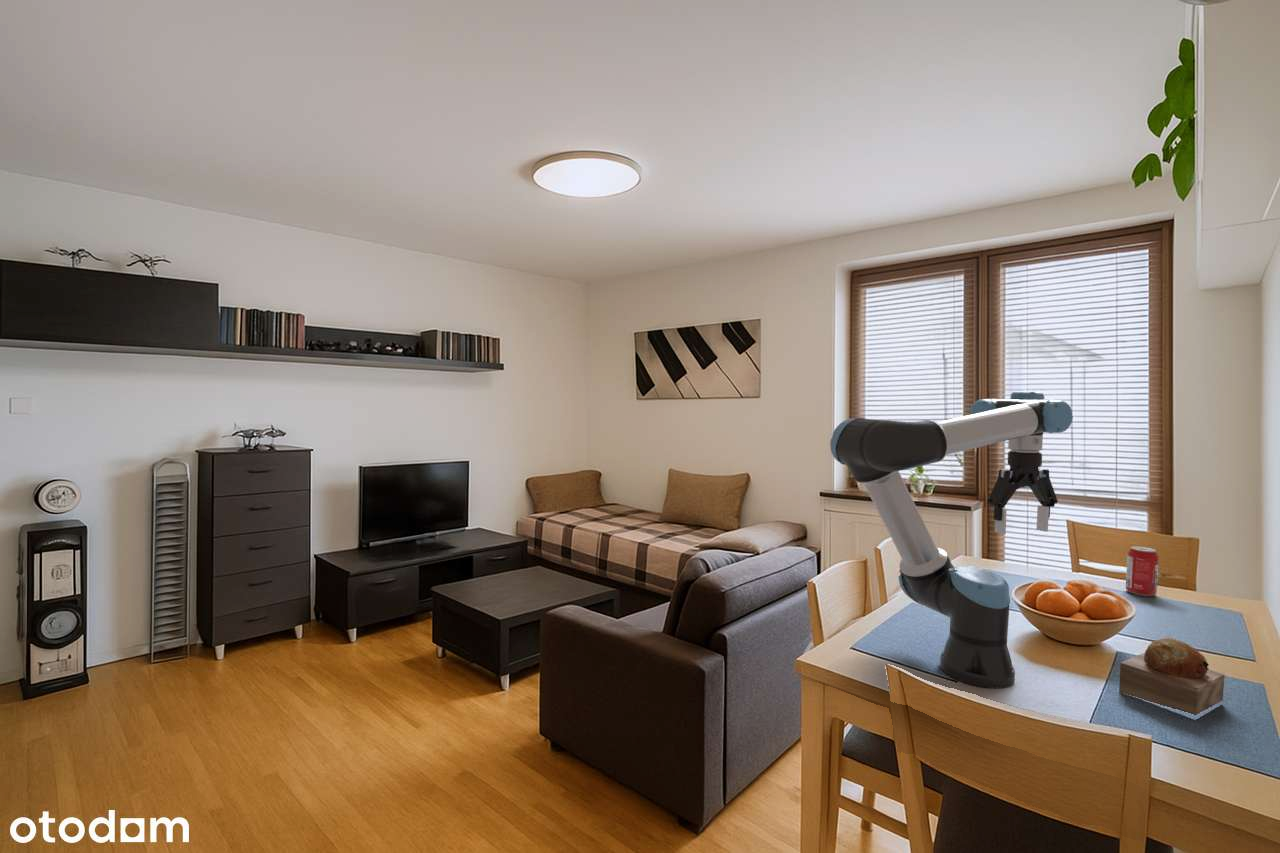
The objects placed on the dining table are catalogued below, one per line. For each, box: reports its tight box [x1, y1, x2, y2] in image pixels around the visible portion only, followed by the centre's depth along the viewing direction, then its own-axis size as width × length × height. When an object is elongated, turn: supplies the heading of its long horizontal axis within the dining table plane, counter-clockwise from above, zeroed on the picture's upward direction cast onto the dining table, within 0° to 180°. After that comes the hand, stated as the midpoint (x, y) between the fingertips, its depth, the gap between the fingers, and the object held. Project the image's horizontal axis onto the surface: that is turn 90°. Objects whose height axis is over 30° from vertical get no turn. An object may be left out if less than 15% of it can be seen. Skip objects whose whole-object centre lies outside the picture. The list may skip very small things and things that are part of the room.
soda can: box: [1125, 545, 1160, 597], centre depth 198 cm, size 8×8×15 cm
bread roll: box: [1144, 637, 1210, 679], centre depth 129 cm, size 10×10×8 cm
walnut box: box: [1118, 652, 1225, 715], centre depth 129 cm, size 13×13×7 cm
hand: (1021, 531), depth 158 cm, fingers open, 13 cm apart
